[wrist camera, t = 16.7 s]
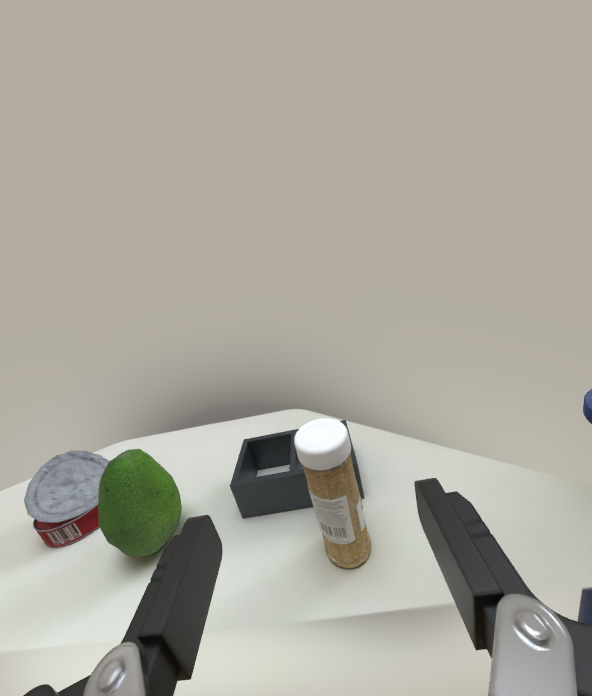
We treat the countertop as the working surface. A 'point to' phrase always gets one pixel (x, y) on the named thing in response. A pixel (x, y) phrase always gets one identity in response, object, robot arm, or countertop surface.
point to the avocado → (137, 504)
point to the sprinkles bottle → (334, 490)
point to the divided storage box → (274, 476)
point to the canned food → (66, 497)
